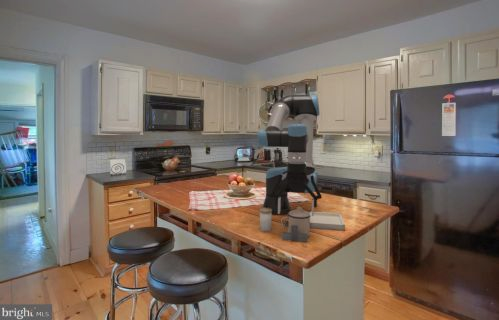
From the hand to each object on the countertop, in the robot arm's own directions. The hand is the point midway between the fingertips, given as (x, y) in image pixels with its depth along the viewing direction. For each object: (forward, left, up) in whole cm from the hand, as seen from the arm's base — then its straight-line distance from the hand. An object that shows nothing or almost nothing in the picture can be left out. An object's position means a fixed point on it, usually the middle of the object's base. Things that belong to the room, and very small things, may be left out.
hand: (295, 214), depth 114 cm
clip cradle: (0, 0, -9) cm, 9 cm away
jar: (-13, +3, -9) cm, 16 cm away
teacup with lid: (0, 0, -9) cm, 9 cm away
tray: (+13, +18, -9) cm, 24 cm away
